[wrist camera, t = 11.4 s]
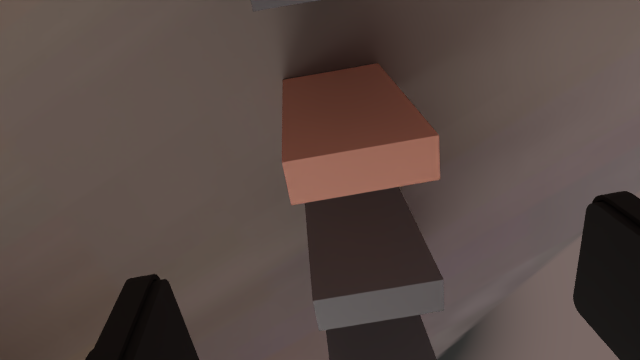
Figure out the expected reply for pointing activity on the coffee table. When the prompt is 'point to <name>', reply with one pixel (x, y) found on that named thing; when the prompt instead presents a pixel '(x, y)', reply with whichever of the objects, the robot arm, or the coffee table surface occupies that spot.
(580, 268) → the robot arm
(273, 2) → the domino
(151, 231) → the coffee table surface
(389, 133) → the domino
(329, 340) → the domino
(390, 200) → the domino
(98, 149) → the coffee table surface
